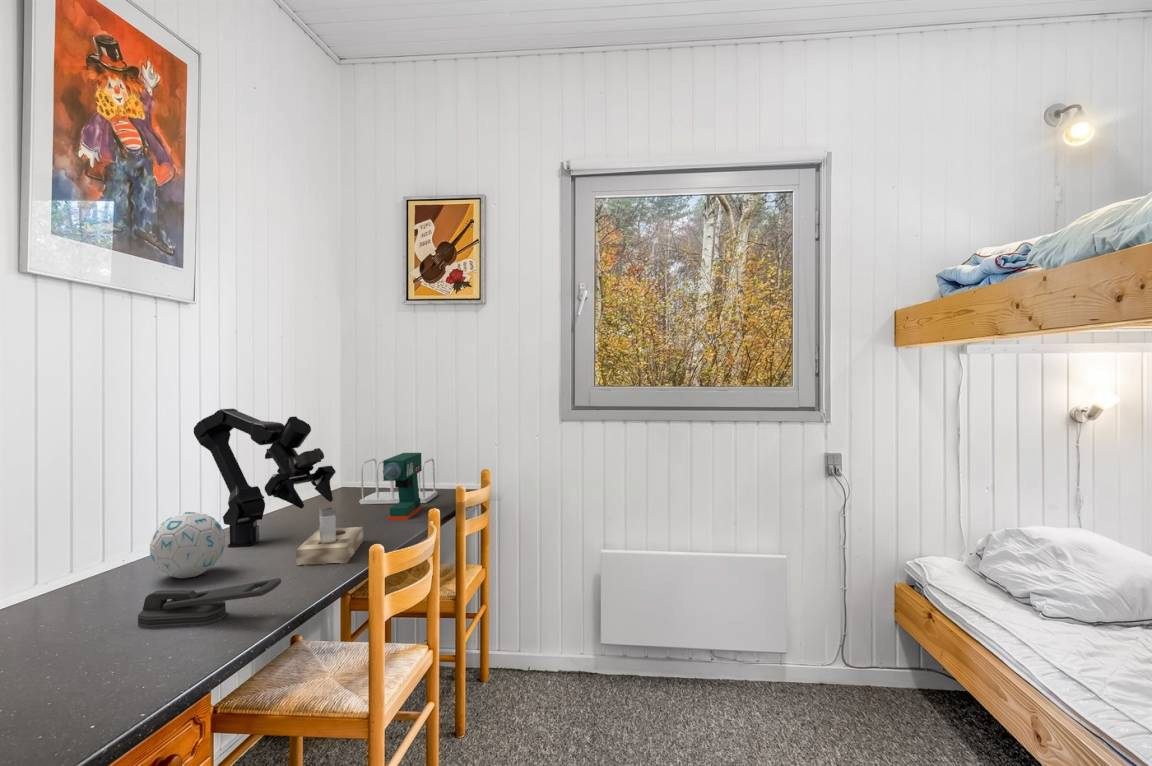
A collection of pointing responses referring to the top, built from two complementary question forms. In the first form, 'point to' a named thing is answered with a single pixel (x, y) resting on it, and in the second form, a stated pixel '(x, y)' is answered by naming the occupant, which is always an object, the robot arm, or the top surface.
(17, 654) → the top surface
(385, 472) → the power tool
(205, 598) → the zipper pull
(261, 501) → the robot arm
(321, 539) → the square bit
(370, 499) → the file sorter
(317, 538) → the bore board
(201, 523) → the puzzle ball
